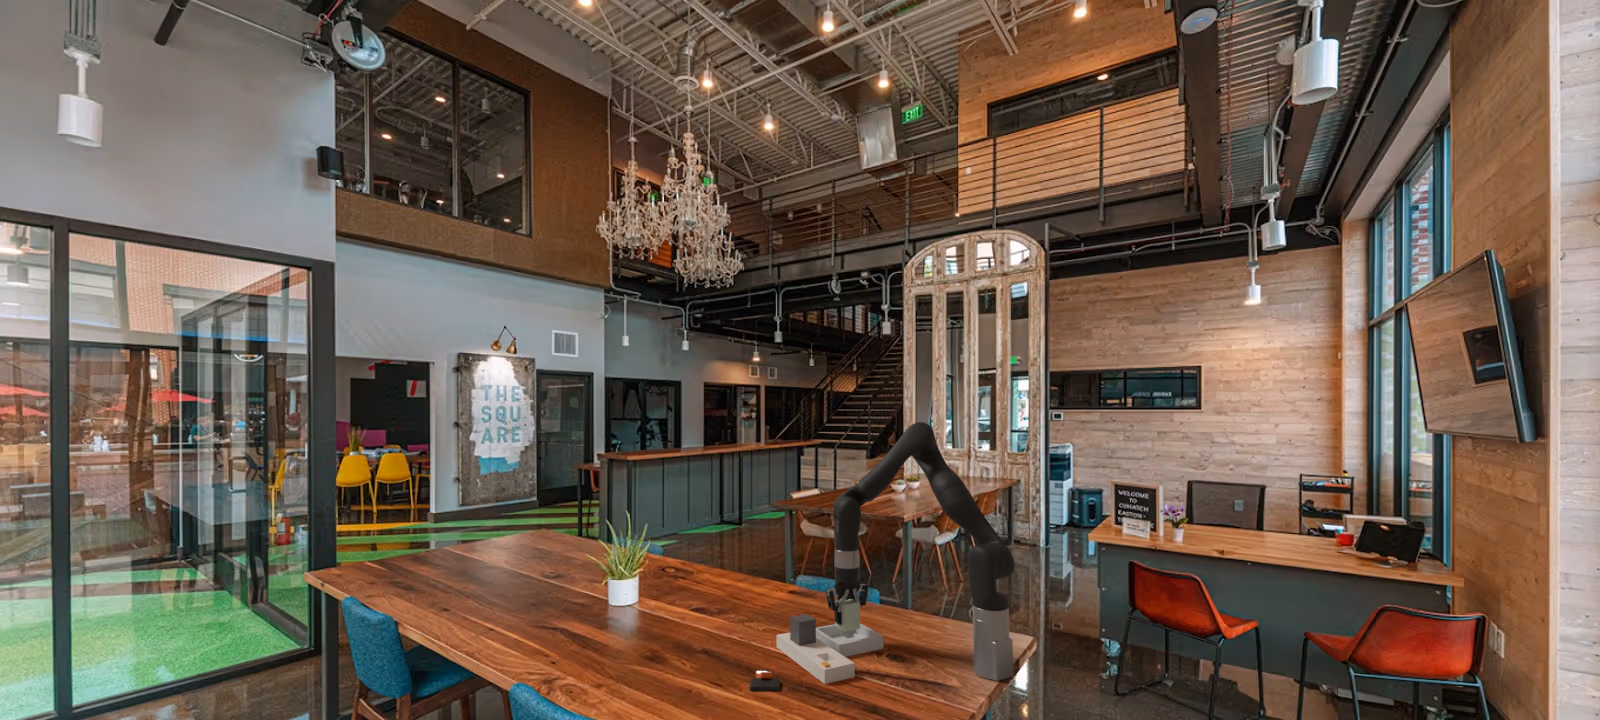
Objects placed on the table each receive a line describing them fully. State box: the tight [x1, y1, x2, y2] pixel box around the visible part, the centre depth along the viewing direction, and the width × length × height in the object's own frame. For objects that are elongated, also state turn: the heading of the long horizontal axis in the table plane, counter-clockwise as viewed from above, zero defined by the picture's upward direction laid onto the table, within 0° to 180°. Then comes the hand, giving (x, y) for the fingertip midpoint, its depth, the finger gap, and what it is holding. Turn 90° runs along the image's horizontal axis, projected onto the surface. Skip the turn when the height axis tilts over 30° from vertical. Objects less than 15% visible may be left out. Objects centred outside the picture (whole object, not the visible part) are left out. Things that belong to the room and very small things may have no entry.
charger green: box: [834, 599, 861, 639], centre depth 185 cm, size 5×5×10 cm
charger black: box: [789, 613, 817, 646], centre depth 177 cm, size 5×5×9 cm
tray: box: [816, 622, 884, 658], centre depth 184 cm, size 15×15×4 cm
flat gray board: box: [776, 632, 856, 685], centre depth 172 cm, size 28×9×4 cm, turn 28°
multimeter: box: [749, 662, 781, 692], centre depth 162 cm, size 18×12×3 cm, turn 176°
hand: (847, 622), depth 185 cm, fingers closed on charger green, 5 cm apart
